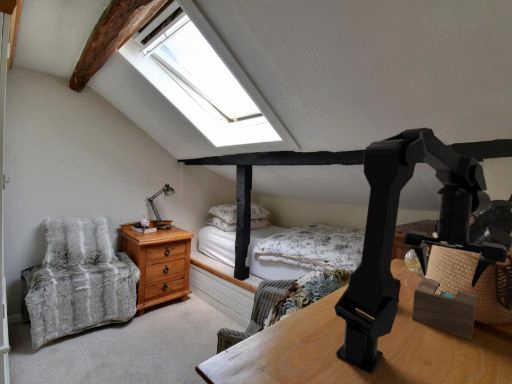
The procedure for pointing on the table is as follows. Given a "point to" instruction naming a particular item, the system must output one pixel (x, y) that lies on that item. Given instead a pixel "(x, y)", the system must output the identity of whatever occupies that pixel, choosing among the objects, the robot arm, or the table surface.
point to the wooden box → (444, 309)
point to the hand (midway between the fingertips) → (447, 280)
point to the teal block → (446, 294)
